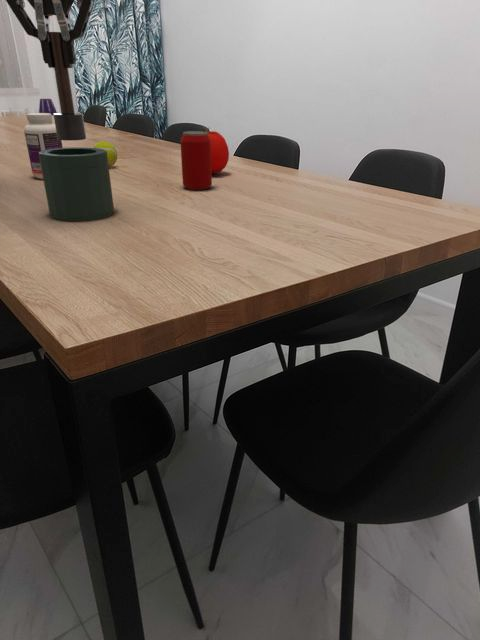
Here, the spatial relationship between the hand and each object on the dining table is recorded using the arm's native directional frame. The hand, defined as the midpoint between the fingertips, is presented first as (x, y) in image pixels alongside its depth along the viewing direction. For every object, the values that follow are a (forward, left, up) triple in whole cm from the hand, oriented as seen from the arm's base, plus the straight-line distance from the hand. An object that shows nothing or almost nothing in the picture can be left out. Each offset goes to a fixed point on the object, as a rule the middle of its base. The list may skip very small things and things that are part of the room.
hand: (60, 67), depth 83 cm
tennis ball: (-5, +52, -24) cm, 57 cm away
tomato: (+23, +42, -24) cm, 53 cm away
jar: (0, 0, -24) cm, 24 cm away
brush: (0, 0, -11) cm, 11 cm away
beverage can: (+21, +24, -24) cm, 40 cm away
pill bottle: (-16, +37, -24) cm, 47 cm away
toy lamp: (-20, +58, -24) cm, 66 cm away
